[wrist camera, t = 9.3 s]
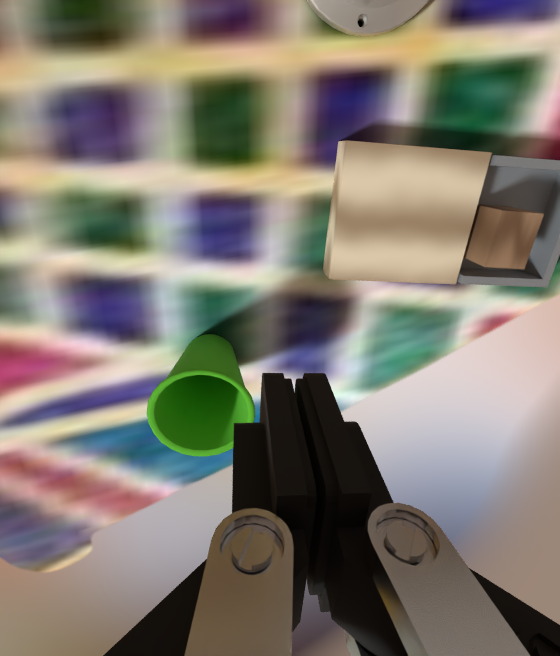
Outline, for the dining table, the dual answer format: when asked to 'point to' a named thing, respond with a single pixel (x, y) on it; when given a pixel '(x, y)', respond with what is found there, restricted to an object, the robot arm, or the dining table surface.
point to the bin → (528, 194)
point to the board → (402, 212)
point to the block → (502, 236)
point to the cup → (201, 400)
